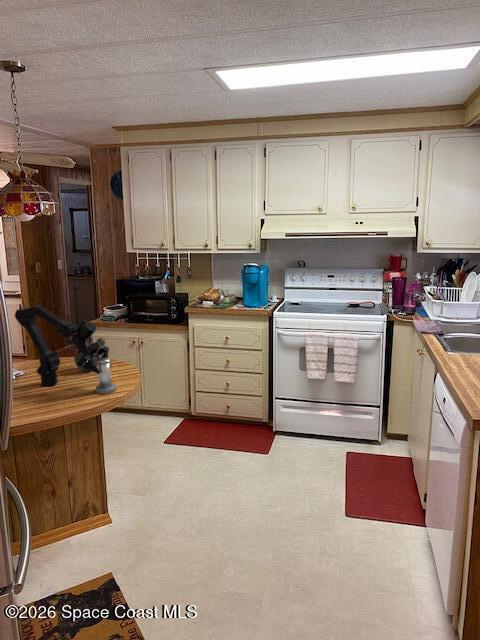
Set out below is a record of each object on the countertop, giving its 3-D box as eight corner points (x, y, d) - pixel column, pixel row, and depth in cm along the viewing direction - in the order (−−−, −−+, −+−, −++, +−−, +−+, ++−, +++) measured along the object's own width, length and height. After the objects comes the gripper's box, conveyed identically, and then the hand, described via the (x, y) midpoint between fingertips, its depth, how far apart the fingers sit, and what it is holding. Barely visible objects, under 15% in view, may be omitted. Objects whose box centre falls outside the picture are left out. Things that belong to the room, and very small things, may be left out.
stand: (93, 394, 211) (93, 390, 210) (99, 387, 219) (98, 383, 219) (113, 394, 211) (113, 389, 210) (118, 387, 220) (118, 383, 219)
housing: (99, 389, 211) (96, 362, 208) (97, 385, 216) (95, 358, 214) (113, 387, 213) (111, 360, 210) (112, 383, 219) (109, 356, 216)
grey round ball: (76, 376, 236) (73, 347, 233) (74, 368, 249) (72, 341, 246) (105, 372, 241) (102, 344, 238) (102, 364, 254) (100, 338, 251)
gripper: (79, 338, 202) (103, 365, 201) (104, 329, 220) (126, 353, 219) (66, 354, 206) (89, 380, 205) (91, 344, 224) (113, 368, 223)
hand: (105, 370), depth 213 cm, fingers open, 9 cm apart
